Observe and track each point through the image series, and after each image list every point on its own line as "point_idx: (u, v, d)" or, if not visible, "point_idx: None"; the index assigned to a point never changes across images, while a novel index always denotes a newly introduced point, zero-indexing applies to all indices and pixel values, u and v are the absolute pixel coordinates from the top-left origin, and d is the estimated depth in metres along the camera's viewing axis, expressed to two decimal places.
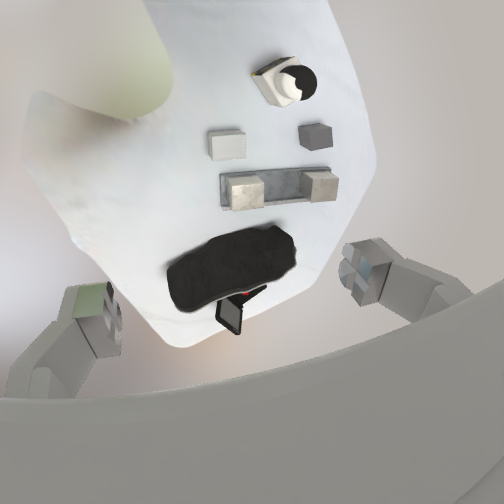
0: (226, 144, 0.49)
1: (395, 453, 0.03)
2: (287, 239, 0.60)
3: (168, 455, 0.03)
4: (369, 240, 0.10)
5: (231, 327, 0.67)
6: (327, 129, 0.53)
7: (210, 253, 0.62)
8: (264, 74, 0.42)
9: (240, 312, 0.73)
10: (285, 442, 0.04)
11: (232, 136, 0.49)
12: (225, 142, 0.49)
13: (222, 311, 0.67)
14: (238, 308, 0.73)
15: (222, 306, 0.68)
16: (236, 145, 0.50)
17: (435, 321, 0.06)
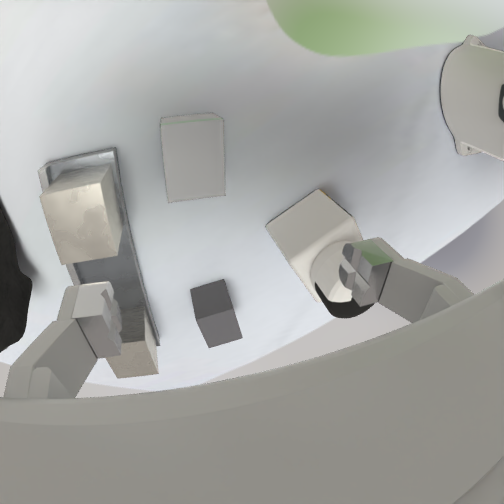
0: (201, 154, 0.21)
1: (395, 453, 0.03)
2: (17, 326, 0.20)
3: (168, 455, 0.03)
4: (369, 240, 0.10)
5: None
6: (238, 333, 0.32)
7: None
8: (354, 220, 0.25)
9: None
10: (285, 443, 0.04)
11: (221, 166, 0.22)
12: (207, 151, 0.21)
13: None
14: None
15: None
16: (199, 177, 0.22)
17: (435, 321, 0.06)
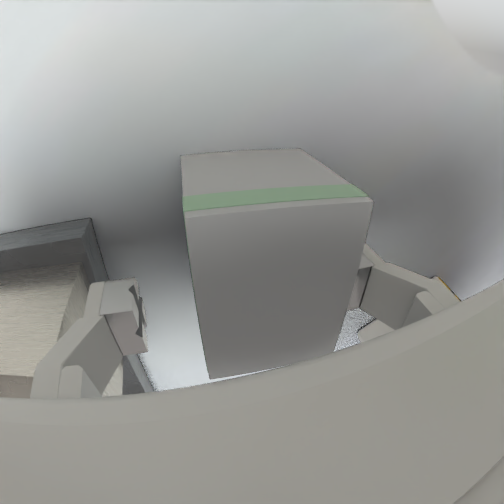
0: (303, 289, 0.08)
1: (395, 453, 0.03)
2: None
3: (168, 455, 0.03)
4: None
5: None
6: None
7: None
8: None
9: None
10: (285, 442, 0.04)
11: (341, 309, 0.09)
12: (316, 282, 0.08)
13: None
14: None
15: None
16: (286, 335, 0.09)
17: (435, 321, 0.06)
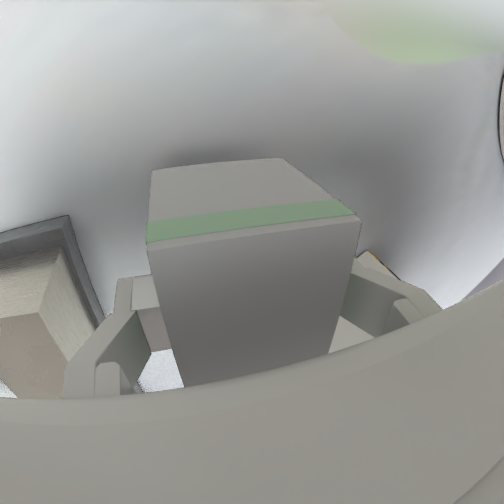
0: (285, 318, 0.07)
1: (395, 453, 0.03)
2: None
3: (168, 455, 0.03)
4: None
5: None
6: None
7: None
8: None
9: None
10: (285, 442, 0.04)
11: (327, 334, 0.08)
12: (299, 310, 0.07)
13: None
14: None
15: None
16: (269, 362, 0.08)
17: (435, 321, 0.06)
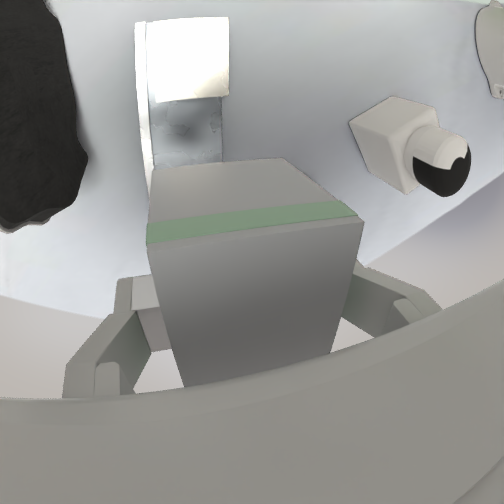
0: (286, 319, 0.07)
1: (396, 454, 0.03)
2: (66, 190, 0.17)
3: (168, 455, 0.03)
4: None
5: None
6: None
7: (32, 12, 0.12)
8: (435, 110, 0.22)
9: None
10: (285, 442, 0.04)
11: (329, 335, 0.08)
12: (301, 311, 0.07)
13: None
14: None
15: None
16: (270, 364, 0.08)
17: (435, 321, 0.06)
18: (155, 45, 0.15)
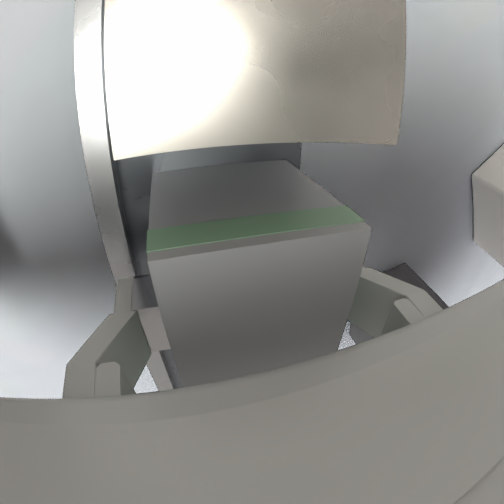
0: (291, 327, 0.07)
1: (395, 453, 0.03)
2: None
3: (168, 455, 0.03)
4: None
5: None
6: None
7: None
8: None
9: None
10: (285, 442, 0.04)
11: (333, 342, 0.08)
12: (306, 319, 0.07)
13: None
14: None
15: None
16: None
17: (435, 321, 0.06)
18: None
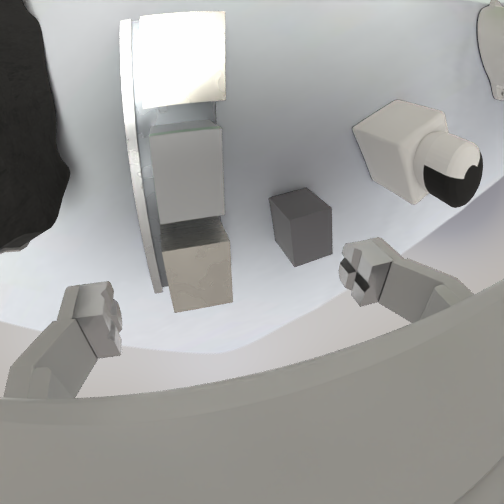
0: (197, 169, 0.18)
1: (396, 454, 0.03)
2: (45, 211, 0.15)
3: (168, 455, 0.03)
4: (369, 240, 0.10)
5: None
6: (330, 246, 0.27)
7: (8, 12, 0.09)
8: (444, 115, 0.21)
9: None
10: (285, 443, 0.04)
11: (219, 182, 0.19)
12: (203, 165, 0.18)
13: None
14: None
15: None
16: (194, 195, 0.19)
17: (435, 321, 0.06)
18: (141, 43, 0.13)
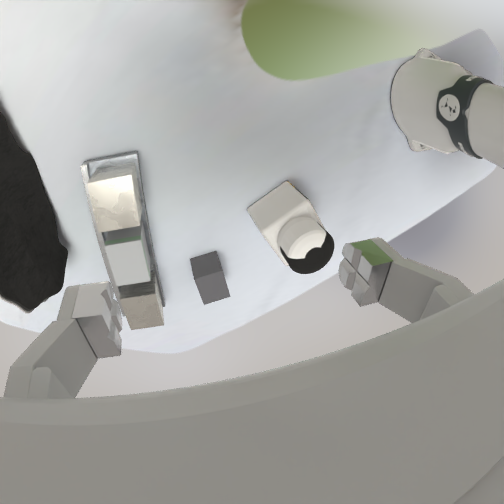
0: (131, 260, 0.33)
1: (395, 453, 0.03)
2: (57, 282, 0.30)
3: (168, 455, 0.03)
4: (369, 240, 0.10)
5: None
6: (227, 292, 0.42)
7: (11, 158, 0.24)
8: (308, 202, 0.35)
9: None
10: (285, 442, 0.04)
11: (144, 265, 0.34)
12: (134, 258, 0.33)
13: None
14: None
15: None
16: (132, 272, 0.34)
17: (435, 321, 0.06)
18: (91, 199, 0.28)
